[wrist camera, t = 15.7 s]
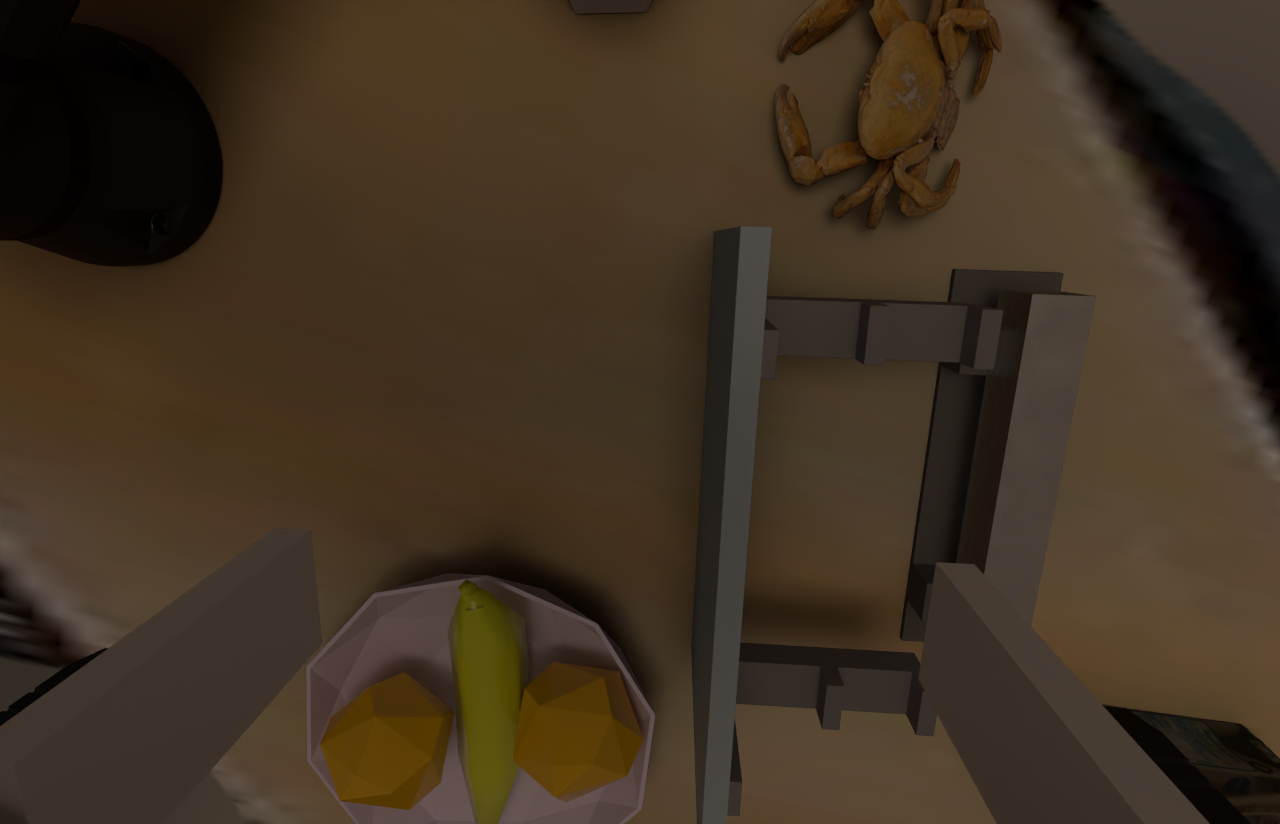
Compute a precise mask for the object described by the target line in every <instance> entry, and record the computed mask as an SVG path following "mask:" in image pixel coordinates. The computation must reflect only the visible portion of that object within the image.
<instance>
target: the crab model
mask: <svg viewBox="0 0 1280 824" xmlns="http://www.w3.org/2000/svg"><path fill="white" fill-rule="evenodd" d="M861 1H862V0H816V1H814V2H813V3H812V4H811V5H810V6H809V7H808V8H807V9H806V10H805V11H804V12H803V13H802V14H801V15H800V17H799V18H798V19H797V20H796V21H795V22H794V23H793V24H792V26H791V27H790V28H789V30H788V31H787V32H786V34H785V35H784V37H783V39H782V42H781V44H780V47H779V50H778V52H779V59H781V60H782V61H784V59H785V56H786V53H787V51H788V49H789V47H790V48H791V50H792V51H793V52H795V53H797V54H799V55H800V54H801V53H803V52H804V51H805V50H806V49H807V48H809V47H810V46H811V45H812V44H814V43H816V42H818V41H820V40H821V39H823V38H824V37H825V36H826V35H828V34H830V33H831V32H833V31H834V30H835V29H836V28H838V27H839V26H840V25H841V24H842V23H843V22H844V21H845V20H846V19H847V18H848V17H849V16H850V15H851V14H852V13H853V12H854V11H855V10H856V9H857V8H858V7H859V5H860V3H861ZM871 1H872V5H873V7H872V9H871V10H870V12H869V13H870V15H871V17H872V19H873V21H874V24H875V26H876V28H877V30H878V33H879V34H880V36H881V38H882V40H883V41H884V43H883V44H882V46H881V47H880V49H879V51H878V53H877V55H876V58H875V60H874V62H873V64H872V66H871V71H870V75H866V76H867V77H868V78H869V79H868V82H867V83H863V85H864V86H865V87H866V88H865V90H864V89H860V92H859V111H858V115H857V129H858V134H859V140H857V141H856V142H845V143H841V144H837V145H834V146H832V147H829V148H827V149H825V150H823V156H822V157H821V158H820V159H819V161H818V162H815V161H814V159H813V158H812V157H811V144H810V139H809V134H808V131H807V129H806V126H805V124H804V121H803V119H802V116H801V113H800V111H799V108H798V101H797V99H796V97H795V96H794V94H793V93H791V94H789V96H787V95H786V92H787V90H788V88H789V86H787V85H785V84H783V85H781V86H780V87H779V88H778V89H777V92H776V98H775V116H776V124H777V130H778V136H779V142H780V146H781V149H782V152H783V154H784V157H785V159H786V161H787V163H788V164H789V171H790V174H791V177H792V178H793V179H794V180H795V181H796V182H798V183H801V184H804V185H808V186H811V185H814V184H815V183H816V182H817V181H818V180H819V179H821V178H825V177H829V176H833V175H836V174H839V173H841V172H844V171H847V170H849V169H852V168H854V167H856V166H859V165H861V164H863V163H866V162H867V160H868V159H869V158H870V156H871V157H872V158H875V159H880V160H879V164H878V167H877V169H876V170H875V171H874V173H873V174H872V175H871V177H870V178H869V179H868V180H867V181H866V182H865V184H863V185H862V188H861V190H858V191H855V192H853V193H851V194H850V195H849V196H848V197H846V196H845V195H844V194H842V195H841V196H840V198H839V199H838V201H837V203H836V204H835V206H834V207H833V208H832V210H833V211H832V215H833V217H834V218H841V217H843V216H844V215H846V214H847V213H848V212H850V211H851V210H852V208H853V207H856V206H858V205H859V204H861V203H862V202H864V201H865V200H867V198H868V197H869V196H870V195H872V194H874V193H875V191H876V190H877V191H876V193H875V195H874V198H873V200H872V202H871V205H870V212H869V214H868V219H867V227H868V228H869V229H873V230H875V229H876V227H877V226H878V224H879V222H880V220H881V218H882V215H883V208H884V206H885V202H886V198H885V195H887V194H888V193H889V191H890V190H891V188H892V187H893V186H894V185H895V183H896V182H897V184H898V186H899V187H901V188H902V192H901V194H900V200H899V201H898V204H899V208H900V210H901V211H902V212H903V213H904V214H905V215H907V216H908V217H918V216H923V215H926V213H929V212H933V211H936V210H939V209H940V208H942V207H943V206H945V205H946V204H947V202H948V199H949V198H950V197H951V196H952V195H953V194H954V192H955V190H956V189H957V187H958V185H956V182H957V179H958V176H959V172H960V162H959V161H958V159H954V162H953V165H952V168H951V170H950V172H949V175H948V177H947V179H946V180H945V183H944V189H943V190H941V191H939V192H933V191H932V190H931V188H930V187H929V185H928V184H926V183H925V182H924V180H925V178H926V175H927V164H928V162H929V160H930V159H929V154H930V152H931V151H932V149H933V144H935V143H937V146H938V148H939V150H940V148H941V149H942V150H943V149H944V147H945V145H946V143H947V142H948V140H949V137H950V135H951V133H952V131H953V129H954V128H955V125H956V121H957V118H958V111H959V104H960V100H959V99H958V98H956V92H955V91H954V90H952V89H953V87H954V79H955V76H956V73H957V70H958V67H959V66H960V60H961V59H962V57H963V55H964V53H965V51H966V48H967V45H968V41H969V37H970V34H971V31H976V34H977V39H978V44H979V47H980V49H981V51H983V52H985V54H984V55H983V56H982V58H981V60H980V65H979V70H978V73H977V77H976V80H975V81H976V84H975V87H974V91H973V94H974V95H978V94H979V93H980V92H981V90H982V89H983V88H984V85H985V83H986V80H987V77H988V73H989V70H990V66H991V63H992V57H993V49H994V48H995V49H996V50H997V51H998V52H1001V48H1002V38H1001V34H1000V31H999V28H998V25H997V22H996V19H995V18H993V17H992V16H990V15H989V12H990V11H988V10H986V8H985V5H984V0H932V2H931V6H930V10H929V14H928V18H927V22H926V25H925V24H923V23H920V22H918V21H914V20H909V18H908V16H907V14H906V13H905V12H904V10H903V9H902V7H901V6H900V4H899V3H898V2H897V0H871ZM960 7H961V8H960ZM955 25H956V26H957V28H956V31H954V27H955ZM945 62H946V64H945ZM935 138H936V139H935ZM934 139H935V142H934ZM896 155H898V156H897V157H896V159H895V160H894V158H895V156H896ZM893 163H894V165H893ZM912 165H914V168H913V170H912V171H911V172H910V174H909V175H908V174H907V173H906V172H905V170H906V168H907V167H909V166H912ZM892 166H893V168H892V169H891V170H890V168H891V167H892ZM889 170H890V171H889ZM888 171H889V172H888ZM887 173H888V174H887ZM955 185H956V186H955Z"/></svg>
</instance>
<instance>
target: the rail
mask: <svg viewBox="0 0 1280 824" xmlns="http://www.w3.org/2000/svg"><path fill="white" fill-rule="evenodd" d="M1095 299H1096V296H1090V295H1083V294H1076V293H1069V292H1062V291H1044V290H1013V289H1000V293H999V299H998V305H997V309H1000V310H1003V316H1002V322H1001V328H1000V334H999V340H998V346H997V352H996V358H995V364H994V370H991V369H987V374H986V380H985V386H984V392H983V398H982V405H981V411H980V417H979V423H978V429H977V436H976V442H975V448H974V454H973V460H972V467H971V473H970V479H969V485H968V491H967V498H966V504H965V510H964V516H963V522H962V529H961V535H960V541H959V547H958V553H957V560H956V563H959V564H975V565H976V567H977V568H978V569H979V570H980V571H981V572H982V573H983V574H984V575H985V576H986V578H987V579H988V580H989V581H990V582H991V583H992V584H993V585H994V586H995V587H996V589H997V590H998V591H999V592H1000V593H1001V594H1002V595H1003V596H1004V597H1005V598H1006V600H1007V601H1008V602H1009V603H1010V604H1011V605H1012V606H1013V607H1014V608H1015V610H1016V611H1017V612H1018V613H1019V614H1020V615H1021V616H1022V617H1023V618H1024V619H1025V621H1026V622H1027V623H1028V624H1029V625H1030V626H1031V624H1032V619H1033V614H1034V608H1035V603H1036V598H1037V593H1038V588H1039V583H1040V578H1041V573H1042V568H1043V563H1044V558H1045V553H1046V548H1047V543H1048V538H1049V532H1050V527H1051V522H1052V517H1053V512H1054V507H1055V502H1056V497H1057V492H1058V487H1059V482H1060V477H1061V472H1062V467H1063V461H1064V456H1065V451H1066V446H1067V441H1068V436H1069V431H1070V426H1071V421H1072V416H1073V411H1074V406H1075V401H1076V396H1077V391H1078V385H1079V380H1080V375H1081V370H1082V365H1083V360H1084V355H1085V350H1086V345H1087V340H1088V335H1089V330H1090V325H1091V320H1092V314H1093V309H1094V304H1095Z"/></svg>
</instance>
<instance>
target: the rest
mask: <svg viewBox="0 0 1280 824" xmlns="http://www.w3.org/2000/svg"><path fill="white" fill-rule="evenodd" d="M1062 278H1063V273H1051V272H1020V271H989V270H957V269H953V270H952V277H951V284H950V291H949V298H948V302H954V303H969V304H974V305H978V306H983V307H991V308H996V309H997V305H998V299H999V293H1000V289H1013V290H1044V291H1060V289H1061V284H1062ZM986 374H987V369H973V368H971V367H968V366H966V365H964V364H962V363H959V362H939V367H938V374H937V381H936V388H935V395H934V402H933V409H932V416H931V423H930V430H929V437H928V444H927V451H926V458H925V465H924V472H923V479H922V486H921V493H920V500H919V507H918V514H917V521H916V528H915V535H914V542H913V549H912V556H911V563H910V570H909V577H908V584H907V591H906V598H905V605H904V612H903V619H902V625H901V632H900V638H901V639H902V640H905V641H923V642H924V639H925V632H926V626H927V619H928V613H929V606H930V600H931V593H932V587H933V580H934V574H935V567H936V562H940V563H956V560H957V553H958V547H959V541H960V535H961V529H962V522H963V516H964V510H965V504H966V498H967V491H968V485H969V479H970V473H971V467H972V460H973V454H974V448H975V442H976V436H977V429H978V423H979V417H980V411H981V405H982V398H983V392H984V386H985V380H986Z"/></svg>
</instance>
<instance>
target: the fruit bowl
mask: <svg viewBox="0 0 1280 824" xmlns="http://www.w3.org/2000/svg"><path fill="white" fill-rule="evenodd" d="M306 678H307V762H308V763H309V764H310V765H311V767H312V768H313V769H314V771H315V772H316V773H317V774H318V776H319V777H320V778H321V780H322V781H323V782H324V784H325V785H326V786H327V787H328V789H329V790H330V791H331V793H332V794H333V795H334V796H335V798H336V799H337V800H338V802H339V803H340V804H341V805H342V807H343V808H344V809H345V811H346V812H347V813H348V815H349V816H350V817H351V818H352V820H353V821H354V822H355V824H625V823H626V822H627V821H628V820H629V819H631V818H632V817H633V816H634V815H635V814H636V813H638V812H639V811H640V810H641V809H642V803H643V796H644V790H645V783H646V776H647V769H648V762H649V755H650V749H651V742H652V735H653V728H654V721H655V714H654V712H653V710H652V708H651V706H650V704H649V702H648V700H647V698H646V696H645V695H644V693H643V691H642V689H641V687H640V685H639V683H638V681H637V679H636V677H635V675H634V673H633V671H632V669H631V668H630V666H629V664H628V662H627V660H626V658H625V656H624V654H623V652H622V650H621V649H620V648H619V647H618V645H617V644H616V643H615V642H614V641H613V640H612V639H611V638H610V637H609V636H608V635H607V634H606V632H605V631H604V630H603V629H602V628H601V627H600V626H599V625H598V624H597V623H596V622H594V621H592V620H591V619H589V618H588V617H586V616H585V615H583V614H582V613H580V612H579V611H577V610H576V609H574V608H573V607H571V606H570V605H568V604H567V603H565V602H563V601H562V600H560V599H559V598H557V597H556V596H554V595H553V594H551V593H550V592H548V591H547V590H545V589H541V588H537V587H533V586H529V585H525V584H521V583H517V582H513V581H508V580H504V579H500V578H496V577H492V576H488V575H472V574H453V573H447V574H443V575H439V576H435V577H432V578H428V579H424V580H421V581H417V582H413V583H410V584H406V585H402V586H399V587H395V588H391V589H388V590H384V591H380V592H377V593H374V594H373V595H372V596H371V597H370V598H369V599H368V600H367V601H366V602H365V603H364V605H363V606H362V607H361V608H360V609H359V610H358V611H357V612H356V613H355V614H354V615H353V616H352V618H351V619H350V620H349V621H348V622H347V623H346V624H345V625H344V626H343V627H342V628H341V630H340V631H339V632H338V633H337V634H336V635H335V636H334V637H333V638H332V639H331V640H330V641H329V643H328V644H327V645H326V646H325V647H324V648H323V649H322V650H321V651H320V652H319V653H318V655H317V656H316V657H315V658H314V659H313V660H312V661H311V662H310V663H309V664H308V665H307V666H306Z"/></svg>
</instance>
